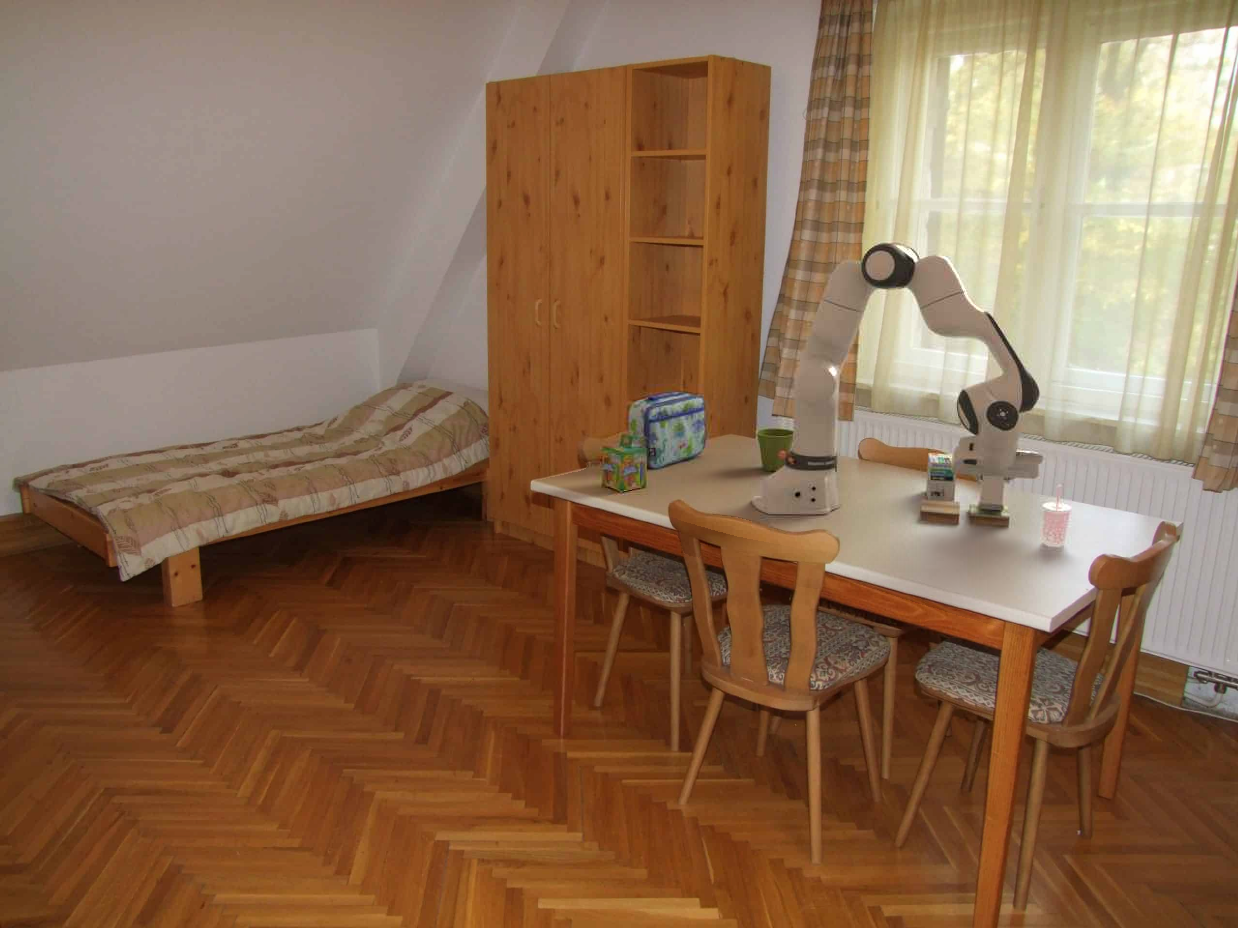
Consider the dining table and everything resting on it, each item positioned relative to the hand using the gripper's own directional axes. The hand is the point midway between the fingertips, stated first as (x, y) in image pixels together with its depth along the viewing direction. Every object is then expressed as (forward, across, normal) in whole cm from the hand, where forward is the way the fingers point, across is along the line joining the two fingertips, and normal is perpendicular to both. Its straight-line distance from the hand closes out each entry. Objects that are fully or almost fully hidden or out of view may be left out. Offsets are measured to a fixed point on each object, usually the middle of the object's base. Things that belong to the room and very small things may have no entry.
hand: (992, 480), depth 257 cm
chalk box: (+7, +96, +6) cm, 96 cm away
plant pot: (+29, +59, -15) cm, 68 cm away
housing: (+3, 0, +6) cm, 7 cm away
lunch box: (+29, +92, -15) cm, 97 cm away
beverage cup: (-5, -14, +19) cm, 24 cm away
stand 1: (+5, +12, +8) cm, 15 cm away
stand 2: (+6, 0, +7) cm, 10 cm away
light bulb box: (+18, +12, -4) cm, 22 cm away
